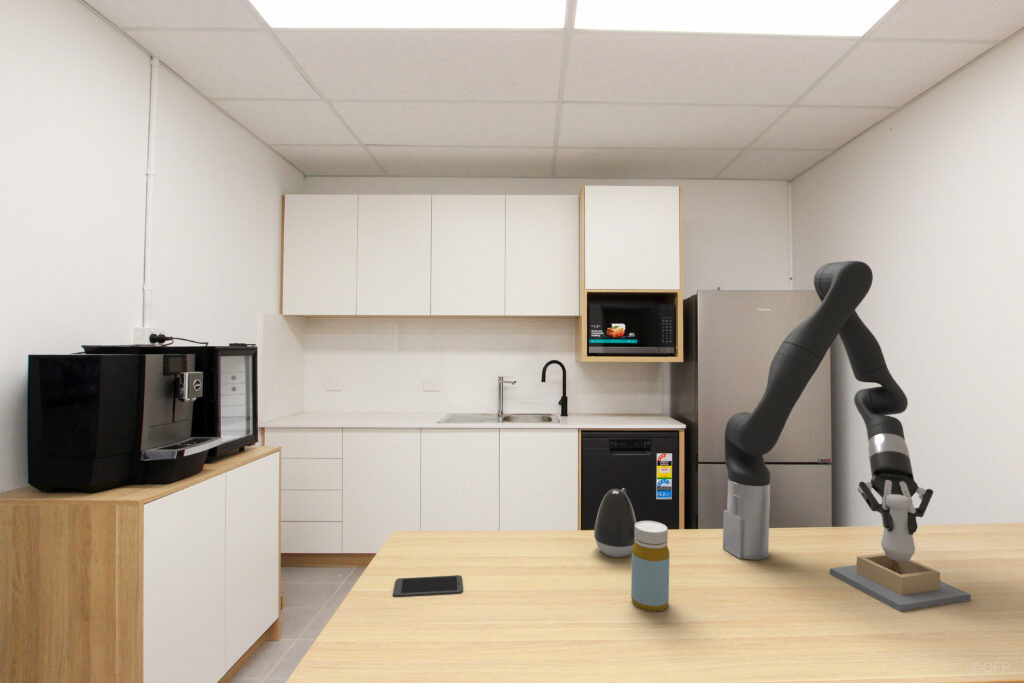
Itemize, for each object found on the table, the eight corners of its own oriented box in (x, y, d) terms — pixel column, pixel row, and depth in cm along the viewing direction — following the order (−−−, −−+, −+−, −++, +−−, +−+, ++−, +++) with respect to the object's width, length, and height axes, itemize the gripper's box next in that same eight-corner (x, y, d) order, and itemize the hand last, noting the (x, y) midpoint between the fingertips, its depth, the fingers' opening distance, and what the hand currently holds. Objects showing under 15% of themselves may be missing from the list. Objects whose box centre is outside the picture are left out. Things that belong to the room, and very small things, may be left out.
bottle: (669, 597, 105) (670, 522, 105) (667, 615, 98) (668, 535, 98) (633, 591, 107) (634, 518, 107) (629, 608, 101) (630, 530, 100)
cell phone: (395, 581, 111) (395, 578, 111) (462, 578, 113) (462, 574, 113) (392, 599, 104) (392, 595, 104) (463, 595, 106) (463, 591, 106)
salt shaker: (920, 565, 108) (922, 501, 107) (889, 562, 109) (890, 499, 108) (905, 553, 113) (907, 492, 113) (875, 550, 114) (876, 490, 114)
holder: (900, 611, 101) (900, 586, 101) (829, 573, 116) (830, 552, 116) (970, 600, 106) (971, 576, 105) (893, 565, 121) (894, 544, 121)
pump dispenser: (643, 550, 128) (644, 487, 127) (628, 566, 119) (629, 498, 119) (604, 540, 133) (605, 480, 133) (586, 555, 124) (587, 490, 124)
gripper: (854, 446, 120) (862, 517, 109) (931, 453, 114) (948, 528, 103) (850, 464, 125) (858, 534, 114) (924, 471, 119) (939, 545, 108)
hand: (901, 531), depth 109 cm, fingers closed on salt shaker, 3 cm apart
